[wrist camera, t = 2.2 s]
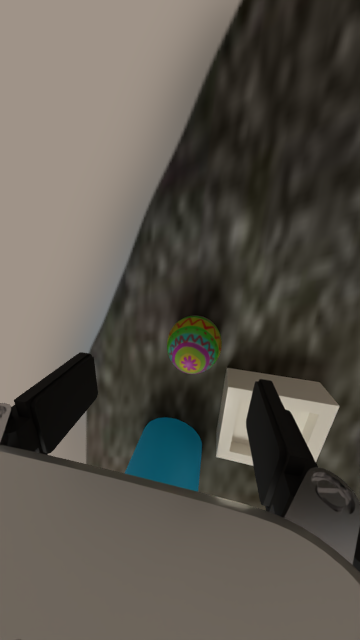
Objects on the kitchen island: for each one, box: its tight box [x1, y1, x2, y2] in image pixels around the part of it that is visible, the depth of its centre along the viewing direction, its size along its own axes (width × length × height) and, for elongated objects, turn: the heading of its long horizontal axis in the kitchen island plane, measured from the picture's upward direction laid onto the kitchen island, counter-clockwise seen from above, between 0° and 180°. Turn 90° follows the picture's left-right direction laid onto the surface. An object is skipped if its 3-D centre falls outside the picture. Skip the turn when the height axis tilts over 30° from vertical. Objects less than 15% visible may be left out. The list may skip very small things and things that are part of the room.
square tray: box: [216, 368, 339, 465], centre depth 19 cm, size 9×9×3 cm
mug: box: [125, 417, 202, 492], centre depth 22 cm, size 12×8×8 cm
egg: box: [167, 315, 222, 374], centre depth 16 cm, size 5×5×6 cm
